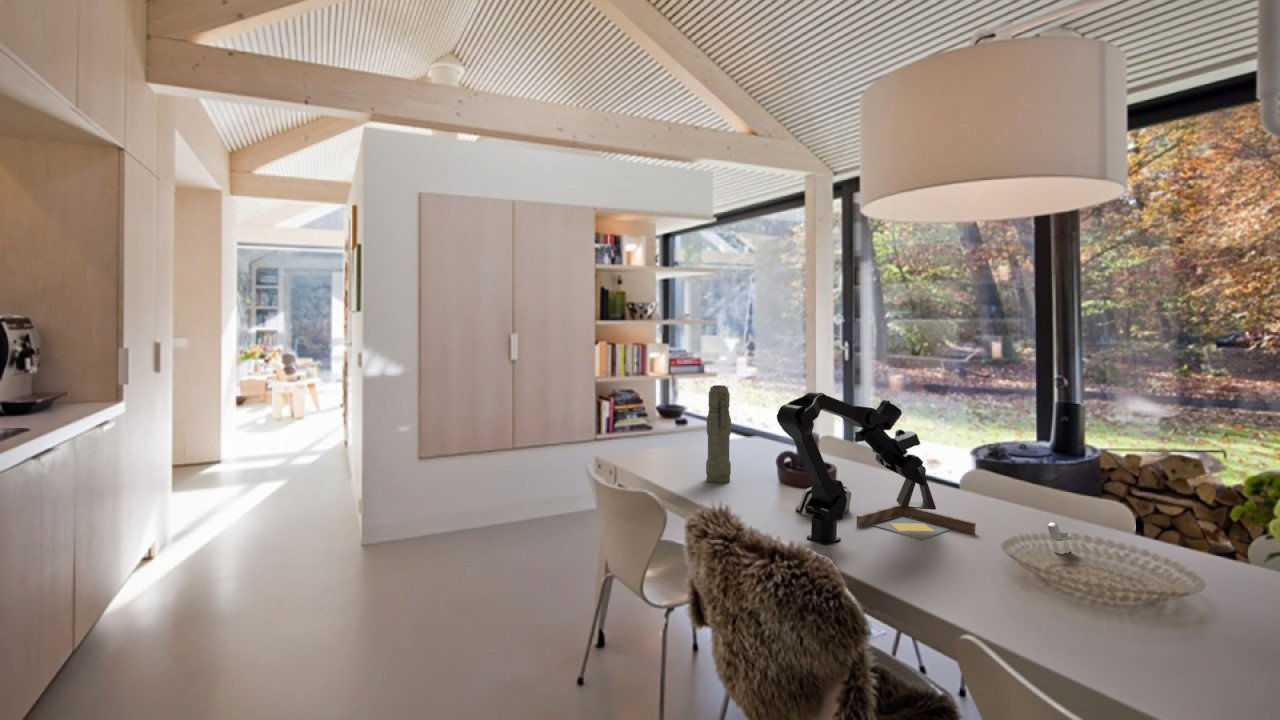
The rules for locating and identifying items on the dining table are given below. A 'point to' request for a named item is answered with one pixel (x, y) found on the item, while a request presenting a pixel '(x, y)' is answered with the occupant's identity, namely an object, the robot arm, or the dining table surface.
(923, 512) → the corner walls
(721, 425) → the green stone statue
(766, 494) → the dining table surface
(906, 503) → the dark grey a-frame stand
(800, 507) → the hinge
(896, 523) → the mat
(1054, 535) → the grey l-shaped piece
